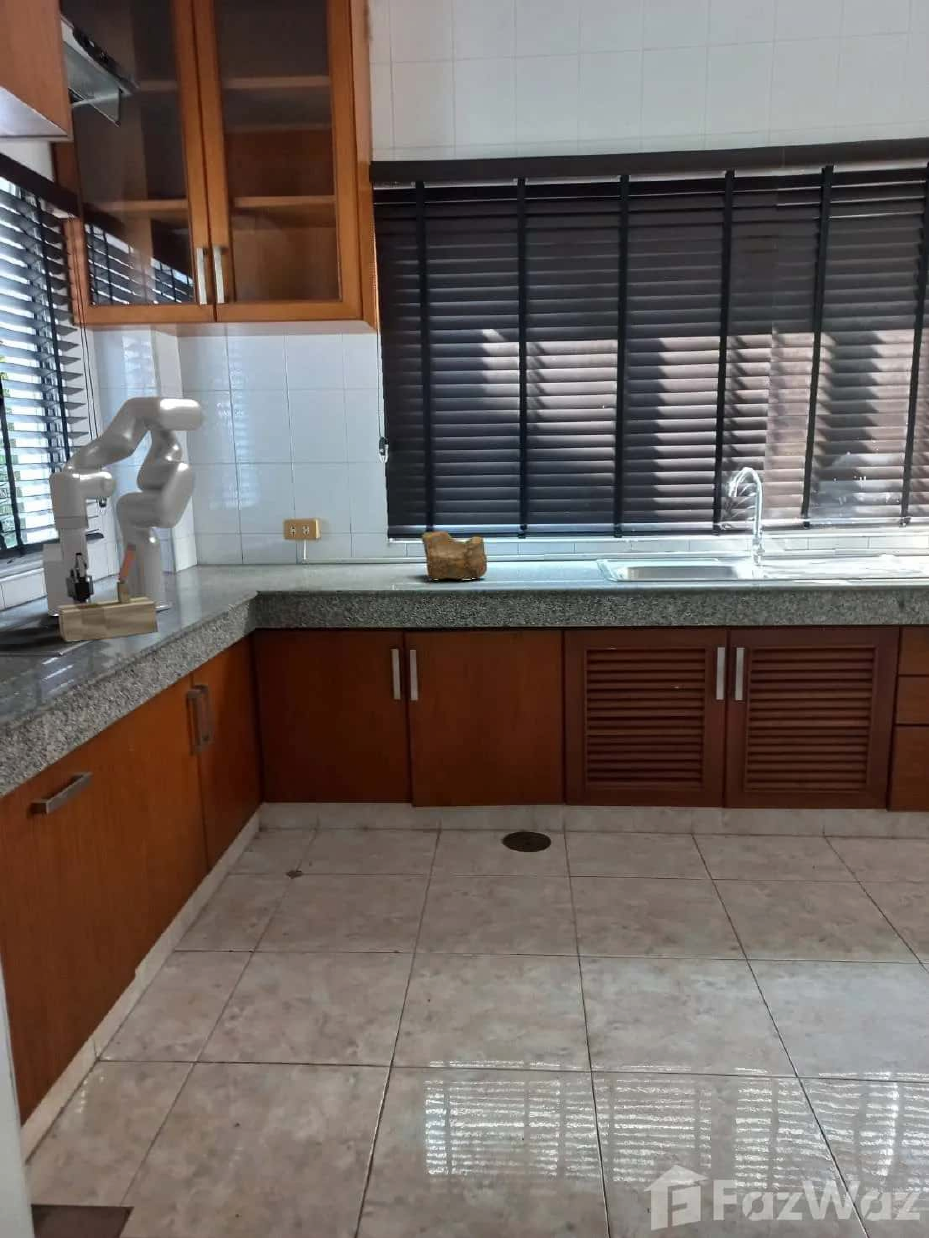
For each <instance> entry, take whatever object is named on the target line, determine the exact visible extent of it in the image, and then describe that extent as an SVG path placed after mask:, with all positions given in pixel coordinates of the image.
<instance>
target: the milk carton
mask: <svg viewBox="0 0 929 1238" xmlns="http://www.w3.org/2000/svg"><path fill="white" fill-rule="evenodd" d="M42 546H43V550H42V559H41V560H42V568H43V577H44V583H45V584H44V585H45V586H44V587H45V594H46V601H47V612H48V616H49V615H55V614H58V606H64V605H73V599H72V597H68V595H67V587H66V580H65V578H66V577H70V573H69V571H67V570H66V569H65V568H63V565H62V555H61V545H60V542H59V543H43V544H42Z"/></svg>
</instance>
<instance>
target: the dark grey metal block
mask: <svg viewBox="0 0 929 1238" xmlns="http://www.w3.org/2000/svg"><path fill="white" fill-rule="evenodd" d="M87 577H88V581H89V589H90V598H82V599H77V598H76V593H75V586H74V583H76V582H75V577H74V576H70V577H66V578H65V580H66V587H67V595H68V597H72V599H73V605H74V604H83V603H92V601H91V596H93V595H95V590H94V583H93V575H91V574H87Z"/></svg>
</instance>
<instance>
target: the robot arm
mask: <svg viewBox="0 0 929 1238" xmlns="http://www.w3.org/2000/svg"><path fill="white" fill-rule="evenodd" d="M204 422H205V412H204V408H203V407H202V405H201V404H200V403H199V402H198V401H197V400H195V399H193V398H187V397H186V398H183V397H169V396H139V397H138V396H137V397H131V398H130V399H129V398H128V399H127V400H126V401H125V402H124V403H123V404H122V406H121V407H120V409H119V410H118V411H117V413H116V415H114V417H113V419H112V420H111V421H110V423H109V425H108V426H107V427H106V429H105V430H104V432H103V433H102V434H101V435H99V436H98V437H96V438H95V439H93V440H91V441H90V442H88V443H86V445H84V446H82V447H81V448H80V449H78V450H77V451H75V452H74V453H73V454H72V456H71V457H70V458H69V459H68V461H67V462H66V463H65V464H64V466H63V467H62V469H61V471H59V472H57V471H56V472H52V473H50V475H49V477H48V484H49V493H50V500H51V507H52V514H53V522H54V530H55V532H59V543H60V545H61V555H62V565H63V568H65V569H66V570H67V571H69V573H70V576H74V577H75V582H76V583H74V586H75V593H76V598H77V599H82V598H90V599H91V596H90V589H89V581H88V577H87V575H88V572H87V570H89V569H90V562H89V561H90V560H89V552H88V544H87V539H86V538H87V537H86V531H85V530H88V529H90V524H89V515H88V509H87V508H88V507H87V500H89V501H92V500H93V501H97V500H98V501H100V500H101V501H103V500H106V499H108V498H110V497H112V496H113V494H114V493H115V492H116V489H117V481H116V478H115V477H114V476H113V474H111V473H110V472H109V471H106V470H104V469H103V468H104V467H107V466H109V465H112V464H115V463H118V462H121V461H123V460H126V459H127V458H129V457H131V456H132V455H133V454H135V451H136V450H137V448H138V446H139V445H140V444H141V442H142V441H143V439H144V438H145V436H146V435H147V433H148V432H149V435H150V438H151V444H150V447H149V449H148V452H147V454H146V456H145V458H144V460H143V462H142V464H141V466H140V468H139V470H138V472H137V474H136V475H137V476H136V481H135V482H136V486H137V488H138V489H139V491H137V492H136V491H135V492H132V491H131V492H127V493H125V494H123V495H121V496H120V497H119V498H118V500H117V502H116V503H115V504H116V505H115V515H116V519H117V523H118V524H119V529H120V532H121V538H122V545H123V546H122V547H123V556H124V557H125V553H126V548H127V545H128V542H129V543H133V544H135V545H137V546H136V550H135V552H134V556H133V559H132V563H131V566H130V570H129V573H128V577H127V583H129V591H130V599H131V598H140V597H146V598H148V599H150V600H151V601H153V602H155V604H156V612H158V611H163V610H164V611H165V610H168V609H170V608H172V607H173V602H172V601H170V600H166V590H165V589H166V588H165V577H164V567H163V566H164V565H163V555H162V544H161V539H160V538H159V536H158V534H157V532H156V530H155V529H161V530H162V529H166V530H167V529H172V528H174V527H176V526H177V525H178V523H180V521H181V519H182V517H183V515H184V513H185V511H186V510H187V507H188V504H189V502H190V500H191V497H192V495H193V493H194V491H195V487H196V474H195V471H194V468H193V466H192V465H191V464H189V463H188V462H186V461H185V460H181V459H182V457H183V448H182V445H181V444H180V441H179V440H178V438H177V435H176V433H175V432H179V431H184V432H185V431H196V430H198V429H199V428H200V427H201V426H202V425H203V423H204ZM124 557H123V558H124Z"/></svg>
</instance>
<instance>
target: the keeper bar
mask: <svg viewBox="0 0 929 1238" xmlns="http://www.w3.org/2000/svg"><path fill="white" fill-rule="evenodd" d="M136 546H137V545H135V544H133V543H129V542H128V545H127V548H126V553H125V557H123V561H122V564H121V568H120V571H119V575H118V578H117V580H118V582H122V583H126V582H127V577H128V573H129V570H130V566H131V563H132V559H133V556H134V552H135V550H136Z"/></svg>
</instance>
